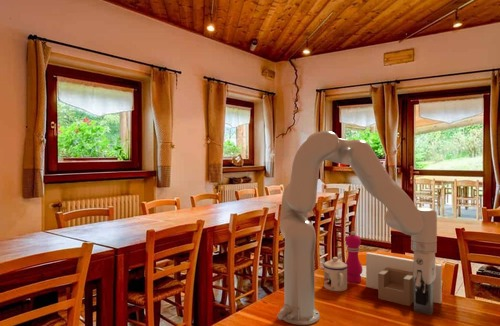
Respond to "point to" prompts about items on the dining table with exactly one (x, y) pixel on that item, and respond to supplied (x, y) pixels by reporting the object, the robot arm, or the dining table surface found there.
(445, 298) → the dining table surface
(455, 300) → the dining table surface
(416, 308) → the blue-grey rectangular block
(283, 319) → the robot arm
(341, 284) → the teacup with lid
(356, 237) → the pepper mill
